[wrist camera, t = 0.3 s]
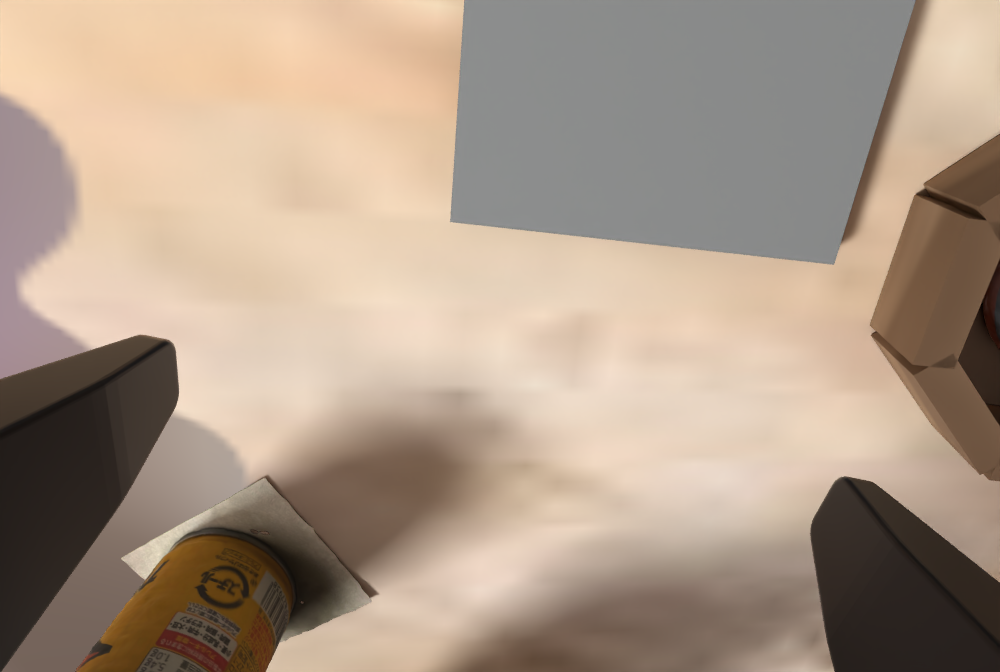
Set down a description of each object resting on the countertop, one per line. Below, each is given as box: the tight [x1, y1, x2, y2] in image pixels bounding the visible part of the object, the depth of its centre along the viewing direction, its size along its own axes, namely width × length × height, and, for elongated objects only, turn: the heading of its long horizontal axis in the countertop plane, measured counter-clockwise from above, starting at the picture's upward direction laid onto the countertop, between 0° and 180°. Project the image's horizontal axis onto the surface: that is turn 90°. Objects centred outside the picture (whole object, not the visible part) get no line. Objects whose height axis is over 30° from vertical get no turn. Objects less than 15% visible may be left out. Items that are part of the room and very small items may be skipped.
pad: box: [450, 0, 916, 265], centre depth 19 cm, size 12×12×1 cm
